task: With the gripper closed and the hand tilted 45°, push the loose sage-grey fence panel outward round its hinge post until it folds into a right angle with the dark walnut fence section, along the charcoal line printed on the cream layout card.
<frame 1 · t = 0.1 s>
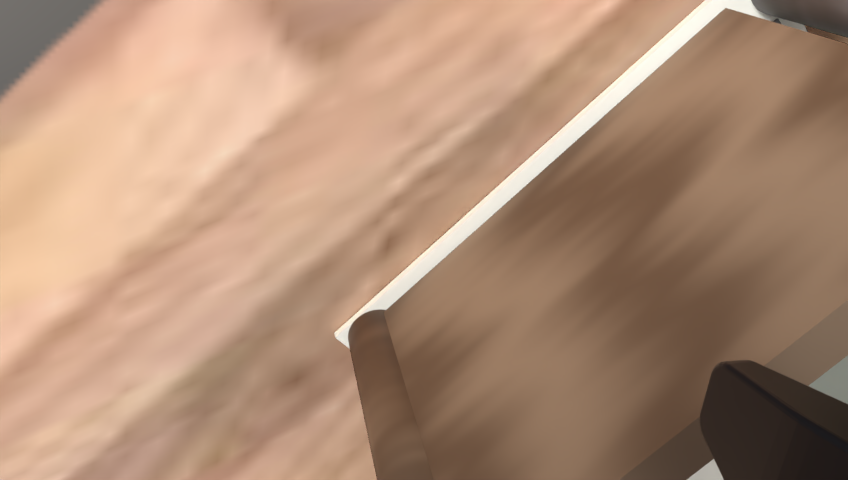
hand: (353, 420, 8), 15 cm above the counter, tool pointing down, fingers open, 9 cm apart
layout card: (679, 320, 28), on the counter
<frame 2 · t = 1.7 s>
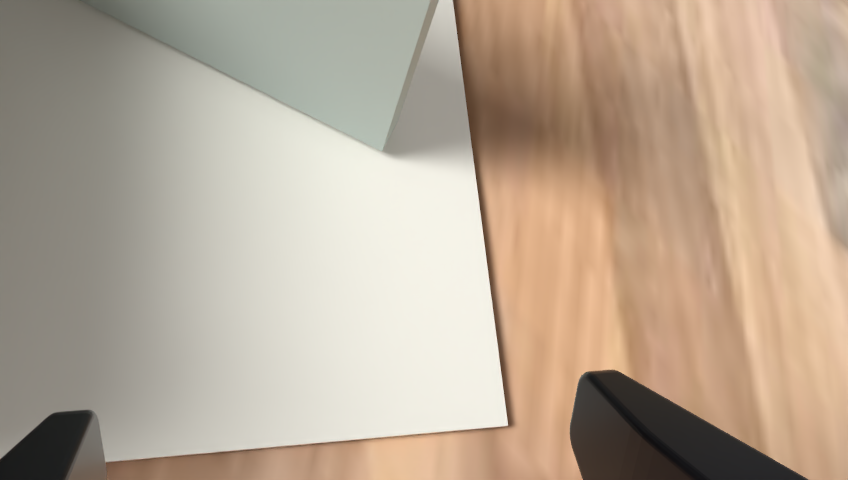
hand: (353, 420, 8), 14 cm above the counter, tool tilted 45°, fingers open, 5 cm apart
layout card: (175, 159, 23), on the counter
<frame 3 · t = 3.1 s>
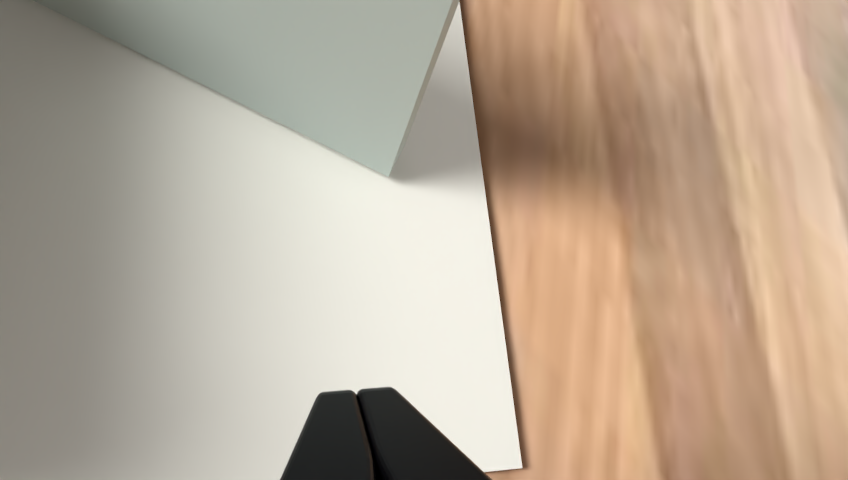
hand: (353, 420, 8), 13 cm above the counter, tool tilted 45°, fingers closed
layout card: (171, 186, 22), on the counter
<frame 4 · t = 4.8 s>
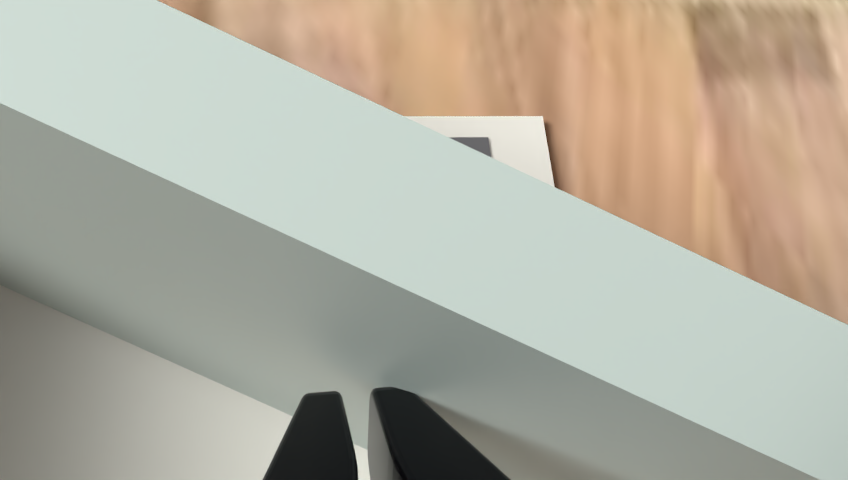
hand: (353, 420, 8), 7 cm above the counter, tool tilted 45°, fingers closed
hinged panel: (61, 215, 10), point 6 cm above the counter, hinge at -28.5°, touching gripper
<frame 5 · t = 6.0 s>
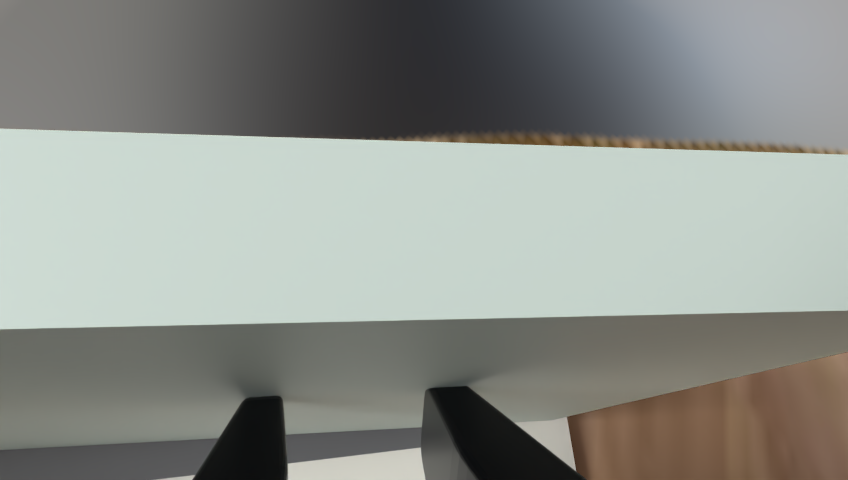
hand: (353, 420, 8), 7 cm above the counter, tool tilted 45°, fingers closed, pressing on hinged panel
hinged panel: (87, 365, 9), point 6 cm above the counter, hinge at -3.2°, touching gripper
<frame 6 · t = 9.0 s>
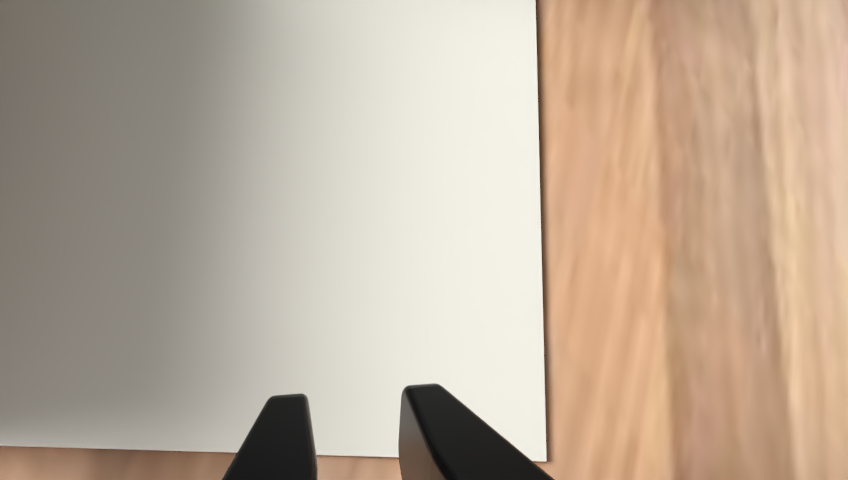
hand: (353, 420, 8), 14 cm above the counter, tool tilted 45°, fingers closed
layout card: (248, 155, 23), on the counter
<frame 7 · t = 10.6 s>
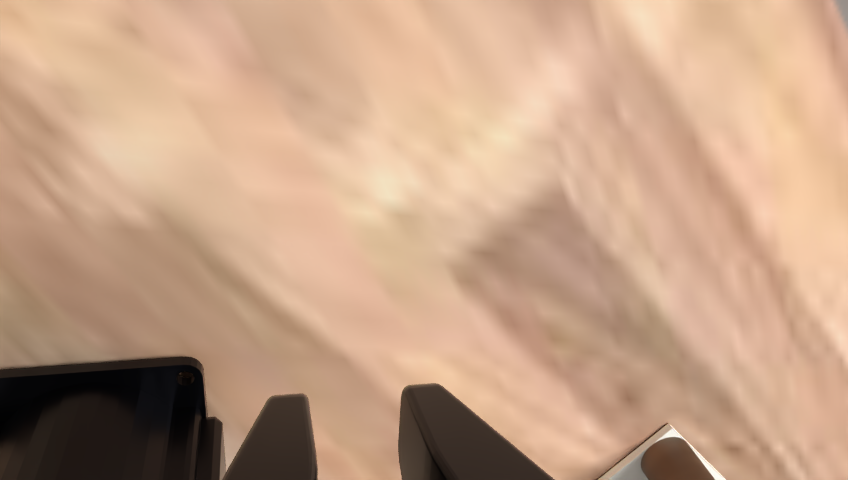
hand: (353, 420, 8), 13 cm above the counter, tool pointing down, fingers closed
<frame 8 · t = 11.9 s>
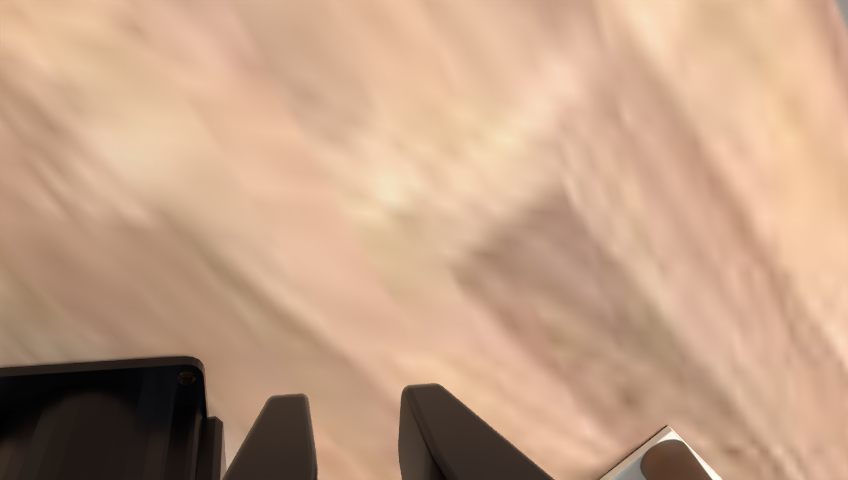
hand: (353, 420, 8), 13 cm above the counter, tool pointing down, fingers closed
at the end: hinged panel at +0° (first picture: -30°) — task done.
